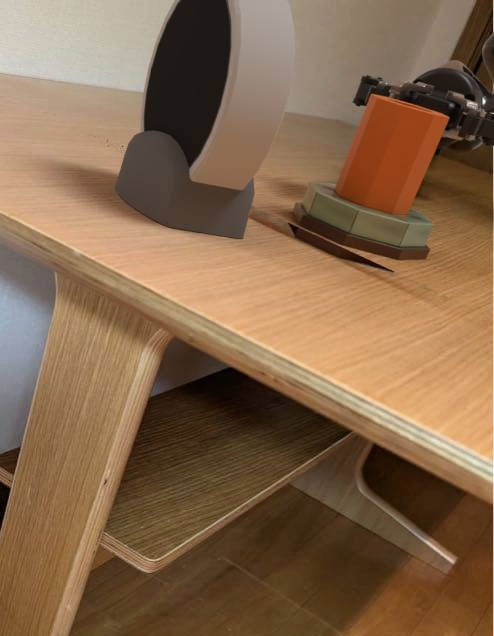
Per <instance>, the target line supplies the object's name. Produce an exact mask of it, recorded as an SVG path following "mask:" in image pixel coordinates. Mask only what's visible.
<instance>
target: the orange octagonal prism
mask: <svg viewBox="0 0 494 636" xmlns="http://www.w3.org/2000/svg"><path fill="white" fill-rule="evenodd" d="M449 118H450V117H448V116H446V115H444V114H442V113H439V112H436V111H433V110H430V109H426V108H423V107H420V106H417V105H414V104H410V103H407V102H403V101H400V100H396V99H393V98H389V97H385V96H380V95H375V94H371V95H370V98H369V101H368V103H367V106H365V108H364V111H363V113H362V116H361V119H360V122H359V124H358V127H357V129H356V132H355V135H354V137H353V140H352V142H351V145H350V148H349V150H348V153H347V155H346V158H345V161H344V164H343V166H342V168H341V171H340V174H339V176H338V179H337V182H336V183H335V184H336V187H335V191H336V192H337V194H338V195H339V196H340V197H343V198H345V199H347V200H350V201H352V202H355V203H357V204H359V205H362V206H364V207H368V208H372V209H375V210H379V211H383V212H386V213H390V214H408V212H409V209H410V208H412V205H413V202H414V200H415V198H416V195H417V193H418V191H419V189H420V186H421V184H422V182H423V180H424V177H425V175H426V173H427V171H428V169H429V166H430V164H431V162H432V159H433V157H434V154H435V152H436V150H437V149H436V148H437V145H438V143H439V141H440V139H441V136H442V134H443V132H444V129H445V127H446V125H447V123H448V120H449Z"/></svg>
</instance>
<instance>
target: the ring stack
mask: <svg viewBox="0 0 494 636" xmlns="http://www.w3.org/2000/svg"><path fill="white" fill-rule="evenodd" d="M336 184H337V183H330V182H319V181H318V182H317V181H309V182H308V185H307V187H306V191H305V194H304V195H303V199H302V201H301V202H299V201H298V202H295V204H294V206H293V209H292V212H291V213H292V215H293V217H294V219H295V221H296V223H297V225H298V226H297V225H295V224H294V223H292V222H291V223H290V222H288V226H289V228H290V230H291V232H292V234H293V237H295V238H296V239H298V240H301V241H303V242H305V243H307V244H309V245H311V246H313V247H315V248H317V249H319V250H321V251H323V252H326V253H328V254H330V255H332V256H334V257H336V258H339V259H343V260H347V261H350V262H354V263H357V262H358V263H357V264H361V265H365V266H368V265H369V267H372V268H377V269H380V270H383V271H387V272H391V273H394V272H395V270H392V269H391V268H388V267H386V266H384V265H382V264H380V263H377V262H375V261H373V260H371V259H369V258H367V257H364V256H362V255H360V254H357V253H356V252H353V251H351V250H349V249H347V248H351V249H354V250H358V251H361V252H366V253H369V254H372V255H377V256H380V257H384V258H388V259H390V260H395V261H422V260H423V261H424V260H427V257H428V256H429V253H430V251H431V248H430V247H429V246H428V245H427V242H428V240H429V237H430V235H431V233H432V232H433V229H434V227H435V223H434V222H433V221H432V220H430V218H429V217H428V216H426V215H425V214H424V213H423V212H421V211H419V210H417V209H414V208H412V207H410V209H409V212H408V214H390V213H386V212H383V211H379V210H375V209H372V208H368V207H364V206H362V205H359V204H357V203H355V202H352V201H350V200H347V199H345V198H343V197H340V196H339V195H338V194H337V192H336V191H335V187H336ZM303 228H304V229H303ZM325 238H326V239H325ZM327 239H328V240H327ZM336 243H337V244H336ZM344 247H345V248H344ZM346 247H347V248H346Z"/></svg>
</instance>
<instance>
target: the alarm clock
mask: <svg viewBox="0 0 494 636" xmlns="http://www.w3.org/2000/svg"><path fill="white" fill-rule="evenodd" d="M295 63H296V31H295V24H294V20H293V13H292V10H291V5H290V3H289V1H288V0H174V1H173V3H172V4H171V7H170V9H169V10H168V12H167V14H166V16H165V17H164V20H163V23H162V26H161V28H160V30H159V33H158V36H157V37H156V40H155V44H154V47H153V50H152V54H151V58H150V61H149V63H148V67H147V72H146V77H145V83H144V88H143V95H142V101H141V103H142V104H141V113H140V132H138V133H135V134H134V135H133V136H132V137H131V139H130V141H129V142H128V144H127V147H126V148H125V149H126V150H125V152H124V155H123V158H122V162H121V165H120V169H119V171H118V172H119V173H118V175H117V179H116V182H115V190H116V192H117V194H118V195H119V197H120V198H121V199H122V200H123V201H124V202H125V203H127V204H128V205H130V206H131V207H132V208H133V209H135V210H136V211H138V212H139V213H141V214H143V215H144V216H146V217H147V218H149V219H151V220H153V221H154V222H157V223H159V224H161V225H162V226H164V227H168V228H171V229H176V230H177V229H178V230H184V231H190V232H196V233H202V234H208V235H214V236H221V237H227V238H234V239H239V240H240V239H244V236H245V233H246V230H247V225H248V221H249V217H250V213H251V209H252V206H253V201H254V198H255V179H254V177H255V176H256V175H257V174H258V172H259V170H260V169H261V167H262V165H263V164H264V162H265V160H266V158H267V157H268V155H269V153H270V151H271V150H272V148H273V146H274V143H275V140H276V137H277V135H278V133H279V130H280V128H281V124H282V122H283V120H284V116H285V113H286V109H287V105H288V101H289V98H290V94H291V90H292V85H293V77H294V70H295Z"/></svg>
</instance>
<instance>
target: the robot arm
mask: <svg viewBox="0 0 494 636" xmlns="http://www.w3.org/2000/svg"><path fill="white" fill-rule="evenodd" d="M481 55H482V60H483V63H484V65H485V68H486V69H487V72H488V74H489V77H490V79H491V81H492V86H493V87H492V91H489V89H488V88H487V87H486V86H485V85H484V84H483V83H482V81H480V80H479V78H478V77H477V76H476V75H475V74H474V73H473V72H472V71H471V70H470V68H469V67H467V65H466V64H465V63H463V62H462V61H460V60H456V59H454V60H453V59H452V60H449V61H446V62H444V63H442V64H440V65H438V66H437V67H436V68H431V69H430V70H427V71H425V72H423V73H422V74H420V75H419V76H417V77H416V78H415V79H414V80H412V82H410V81H406V80H402V79H396V80H395V81H394V82H393V83H389V81H388V80H384V79H383V77H381V76H377V77H374V76H371V75H368V74H366V75H361V78H360V82H359V84H358V87H357V91H356V93H355V95H354V97H353V100H352V104H355V107H359V108H360V107H361V106H362V107H366V106H367V103H368V101H369V98H370V95H371V94H375V95H380V96H385V97H389V98H393V99H396V100H400V101H403V102H407V103H410V104H414V105H417V106H420V107H423V108H426V109H430V110H433V111H436V112H439V113H442V114H444V115H446V116H448V117H450V118H449V120H448V123H447V125H446V127H445V129H444V132H443V134H442V136H441V139H440V141H439V143H438V145H437V148H436V150H439V149H443V148H445V147H446V148H447V150H449V151H450V152H452V153H453V154H460V155H461V154H466V153H469V152H472V151H474V150H475V149H477V148H479V147H480V146H481V145H482V144H484V146H487V147H491V146H493V147H494V32H492V34H491V35H489V37H488V38H487V39H486V40H485V42H484V44H483V46H482V50H481Z"/></svg>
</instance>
